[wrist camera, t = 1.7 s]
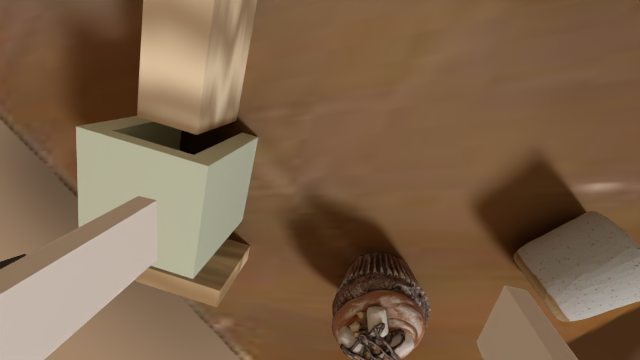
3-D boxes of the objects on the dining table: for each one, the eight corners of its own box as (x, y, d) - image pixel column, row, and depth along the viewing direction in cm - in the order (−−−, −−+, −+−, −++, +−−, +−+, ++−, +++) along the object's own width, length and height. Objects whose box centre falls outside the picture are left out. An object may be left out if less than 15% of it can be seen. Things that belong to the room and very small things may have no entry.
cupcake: (386, 328, 37) (394, 414, 28) (321, 285, 36) (306, 359, 27) (440, 276, 34) (470, 354, 24) (369, 229, 33) (371, 290, 24)
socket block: (167, 110, 32) (75, 126, 22) (258, 137, 31) (208, 166, 21) (160, 195, 35) (79, 242, 25) (242, 220, 35) (192, 279, 25)
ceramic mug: (496, 241, 31) (536, 292, 24) (576, 196, 29) (647, 238, 22) (548, 309, 33) (600, 374, 26) (628, 272, 31) (709, 334, 24)
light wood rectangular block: (212, -79, 26) (150, -142, 18) (268, -63, 26) (229, -121, 18) (191, 106, 31) (137, 116, 24) (236, 120, 31) (196, 134, 24)
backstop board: (147, 213, 36) (90, 249, 29) (250, 245, 36) (219, 290, 28) (146, 227, 37) (90, 266, 29) (247, 259, 36) (217, 307, 29)
